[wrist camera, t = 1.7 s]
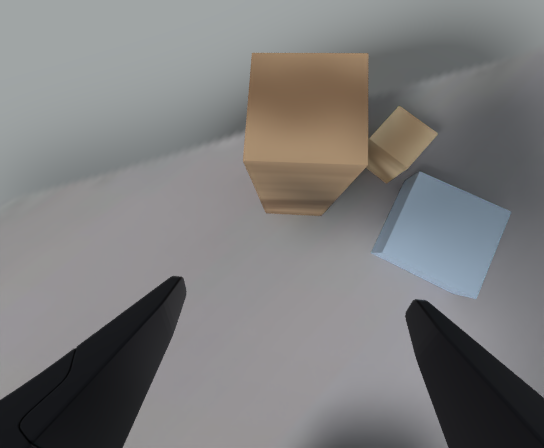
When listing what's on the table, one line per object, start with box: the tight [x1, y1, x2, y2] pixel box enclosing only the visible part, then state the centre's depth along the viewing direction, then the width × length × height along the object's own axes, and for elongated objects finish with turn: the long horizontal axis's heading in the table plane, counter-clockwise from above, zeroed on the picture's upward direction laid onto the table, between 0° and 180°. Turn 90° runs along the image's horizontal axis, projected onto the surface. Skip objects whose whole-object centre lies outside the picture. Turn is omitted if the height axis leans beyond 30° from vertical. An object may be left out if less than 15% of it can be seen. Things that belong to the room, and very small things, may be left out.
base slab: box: [371, 171, 511, 299], centre depth 20 cm, size 8×8×2 cm
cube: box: [366, 106, 438, 184], centre depth 21 cm, size 4×4×4 cm
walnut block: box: [243, 53, 368, 216], centre depth 16 cm, size 6×6×12 cm
